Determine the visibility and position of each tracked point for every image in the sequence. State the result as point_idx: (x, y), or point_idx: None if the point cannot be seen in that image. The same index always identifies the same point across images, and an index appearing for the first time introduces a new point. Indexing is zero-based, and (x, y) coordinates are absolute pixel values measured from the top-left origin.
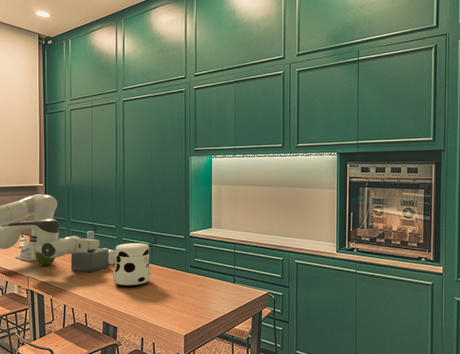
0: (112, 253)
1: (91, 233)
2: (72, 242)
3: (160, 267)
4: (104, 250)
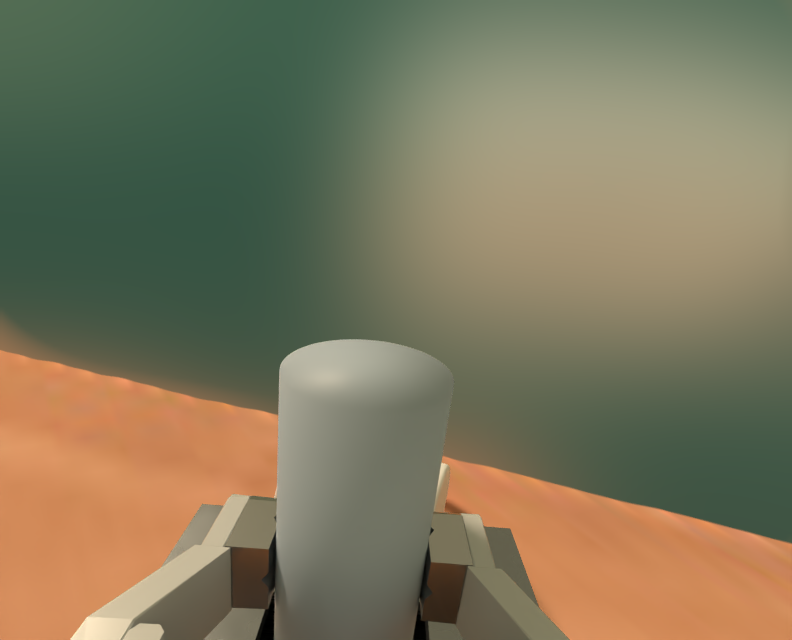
0: (441, 499)
1: (442, 431)
2: None
3: (761, 540)
4: (536, 604)
